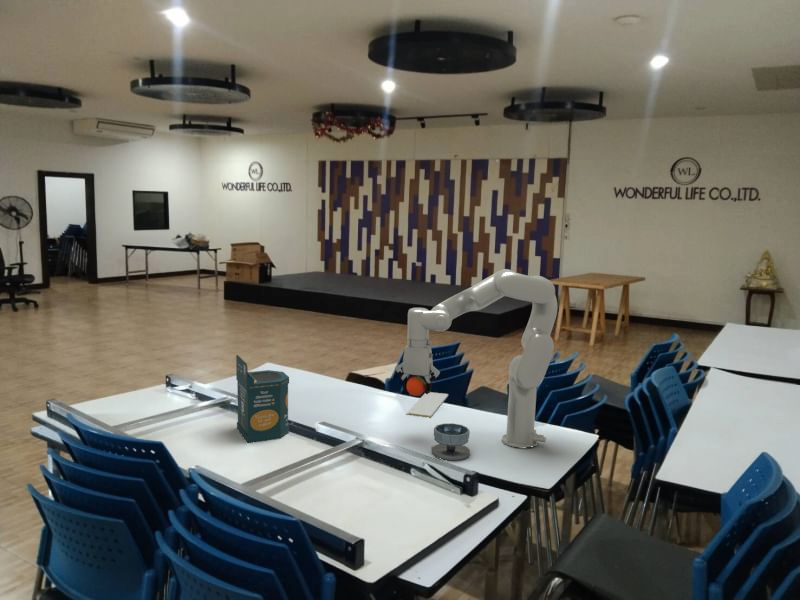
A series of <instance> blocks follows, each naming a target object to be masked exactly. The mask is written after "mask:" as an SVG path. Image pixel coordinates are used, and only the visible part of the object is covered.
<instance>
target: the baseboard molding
mask: <svg viewBox="0 0 800 600" xmlns="http://www.w3.org/2000/svg"><path fill="white" fill-rule="evenodd" d="M434 391H435V392H432V391H430V393H428V394H425V391H424V392H423V394H422V396H421V397H420V398H419V399H418V400H416V402H415V403H414V404H413V405H412V407H410V408H409V409H408V410H407V411H406V413H405V414H406V416H412V415H413V416H412V417H420V416H421V417H422V418H427V417H429V418H428V419H430V418H432V417H433V415H434V414H435V413H436V412H437V411H438V409H439V408H440V407H441V405H442V404H443V403H444V402H445V401H446V400H447V398H448V397H449V392H447V391H446V393H443V392H441V391H440V390H439V389H434ZM441 403H442V404H441ZM439 406H440V407H439ZM435 411H436V412H435ZM431 416H432V417H431ZM421 417H420V418H421Z"/></svg>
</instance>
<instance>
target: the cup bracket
mask: <svg viewBox="0 0 800 600" xmlns="http://www.w3.org/2000/svg"><path fill="white" fill-rule="evenodd" d="M470 433H471V432H470V429H469V428H468V427H467V426H464V424H463V425H462V424H458V423H448V422H447V423H440V424H437V425H436V426H435V427H434V428H433V437H434V438H433V439H434V442H436V444H435V445H433V446H432V447H431V454H433V455H434V456H435V458H436V457H438V458H441V459H443V460H442V461H445V460H447V461H446V462H461V461H465V460H467V459H469V458H470V457H471V450H470V448H469V447H467V446H465V445H466V444H467V443H469V439H470ZM433 455H432V456H433ZM434 456H433V457H434ZM469 456H470V457H469ZM438 458H437V459H438ZM441 459H440V460H441Z"/></svg>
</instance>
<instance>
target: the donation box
mask: <svg viewBox="0 0 800 600" xmlns="http://www.w3.org/2000/svg"><path fill="white" fill-rule="evenodd" d="M235 357H236V359H235V360H236V362H235V364H236V365H235V368H236V369H235V370H236V376H235V377H236V381H237V422H236V429H237V431H238V430H239V431H238V432H239V434H240V435H241V434H242V435H241V436H242V438H243V437H244V438H243V439H244V441H245V440H246V441H245V442H246V444H247V443H248V444H254V443H259V442H266V441H272V440H280V439H283V438H284V437H285V436H286V435H288V434H290V426H289V384H290V376H288V375H287V374H286V373H285V372H284V371H280V370H270V369H267V370H258V371H248V364H247V362H245V361H244V359H243V358H242V357H241V356H240V355H238V354H236V356H235ZM253 442H254V443H253Z"/></svg>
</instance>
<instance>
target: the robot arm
mask: <svg viewBox="0 0 800 600" xmlns="http://www.w3.org/2000/svg"><path fill="white" fill-rule="evenodd" d="M503 297H508V298H512V299H515V300H519V301H525V302H529V303H532V305H531V306H532V308H531V312H530V316H529V319H528V322H527V325H526V327H525V329H524V332H523V334H522V337H521V340H520V341H521V346H522V348H523V352H522V354H519V355H516V356H515V357H513V359H512V360H511V361H510V363H509V367H508V402H507V403H508V404H507V416H506V417H507V419H506V420H507V422H506V433H505V434H504V435H502V436H501V442H502V444H504V445H507V446H508V445H509V447H511V446H512V448H515V447H531V446H535V445H536V444H537V443H539V442H540V443H544V444H545V443H546V442H547V437H546V436H544V435H543V434H538V433H537V429H535V423H536V422H535V418H536V404H537V403H536V402H537V388H538V387H539V386H540V385H541V383H542V382H543V380H544V378H545V375H546V374H547V371H548V368H549V366H550V363H551V360H552V357H553V353H554V349H555V344H554V341H553V338H552V337H551V335H552V331H553V328H554V326H555V325H554V324H555V322H556V318H557V315H558V300H557V296H556V287H555V285H554V283H553V282H552V281H550V280H549V279H548V278H546V277H544V276H541V275H533V276H531V275H526V274H523V273H518V272H515V271H513V270H511V269H508V268H504V269H500V270H498V271H496V272H495V273H493V274H491V275H489V276H488V277H486V278H484V279H483V280H481V281H479V282H477V283H476V284H474V285H472V286H471V287H469V288H468V287H467V288H466V289H464V290H462V291H460V292H458V293H456V294H454V295H453V296H450V297H449V298H446V299H445V300H444V301H442V302H441V301H440V303H438V304H436V305H435V306H433V307H432V308H431V310H429V309H428V308H425V307H412V308H409V309H408V312H407V333H406V334H407V335H406V337H407V340H406V341H407V342H406V344H407V345H405V347H404V353H403V357H402V362H401V363H399V364H398V365H396V366H395V367H394V369H395V370H396V373H397V374H398V375H399V377H400V379H401V380H402V390H403V392H406V391H407V388H406V384H407V381H408V380H409V379H410V378H408V376H411V375H412V376H419V377H424V379H425V381H426V382H425V384H426V388H425V393H424V394H428V393H430V392H432V382H434V380H435V379H437V377H439V375H440V373H441V371H439V369H437V368H436V367H435V366H434V365H433V364H434V363H433V362H434V361H433V353H432V352H433V351H432V347H431V346H432V345H433V340H432V341H431V340H430V330H431V331H436V332H444V331H446V330H448V329H450V327H451V326H452V322H453V320H454V319H456V318H457V317H460V316H461V315H463V314H467V313H469V312H475V311H481V310H482V309H485V308H486V307H488V306H490V305H491V304H493V303H495V302H496V301H498V300H500V299H502V298H503ZM401 368H402V369H401ZM432 373H433V375H431V374H432ZM537 445H538V444H537ZM537 445H536V446H537ZM536 446H535V447H536Z"/></svg>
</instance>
